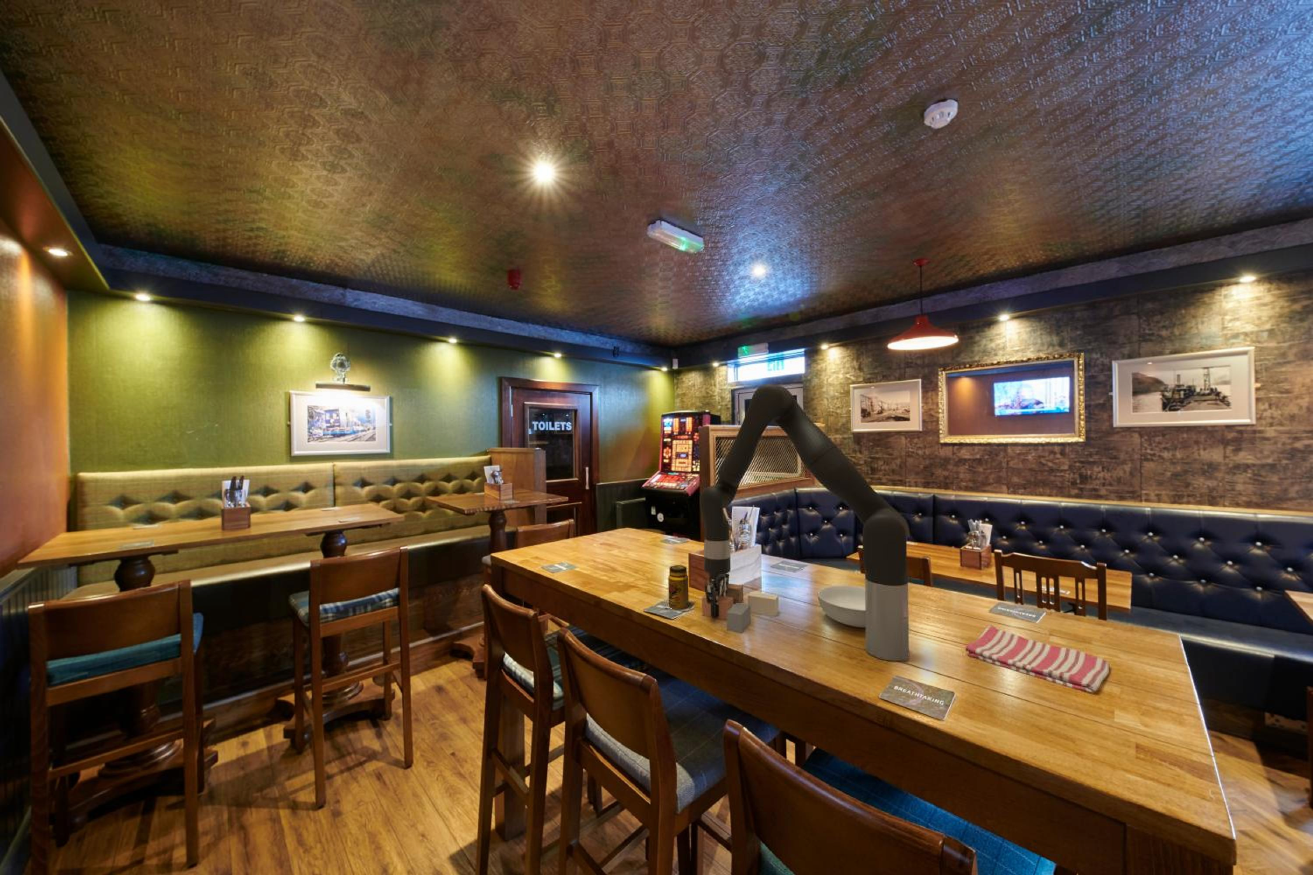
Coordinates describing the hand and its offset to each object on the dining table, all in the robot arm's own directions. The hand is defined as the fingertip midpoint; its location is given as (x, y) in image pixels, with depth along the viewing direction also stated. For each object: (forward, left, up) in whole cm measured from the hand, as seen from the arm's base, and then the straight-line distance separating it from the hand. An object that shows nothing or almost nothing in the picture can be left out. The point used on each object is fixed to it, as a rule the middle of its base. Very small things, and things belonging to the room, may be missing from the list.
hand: (717, 613), depth 138 cm
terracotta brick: (0, 0, 0) cm, 0 cm away
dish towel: (-74, -6, -1) cm, 74 cm away
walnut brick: (+1, -12, -1) cm, 12 cm away
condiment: (+13, -2, -1) cm, 13 cm away
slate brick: (-8, +5, -1) cm, 9 cm away
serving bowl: (-36, -13, -1) cm, 38 cm away
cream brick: (-11, -8, -1) cm, 14 cm away
